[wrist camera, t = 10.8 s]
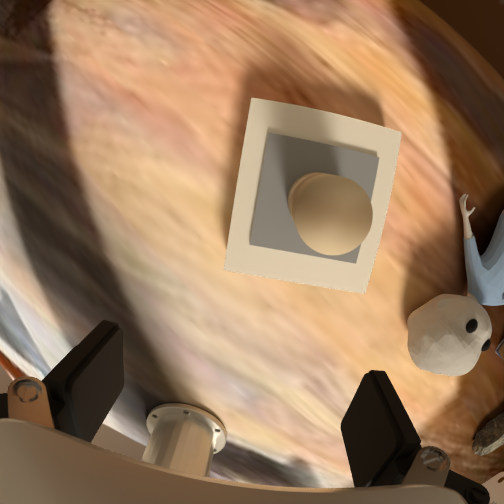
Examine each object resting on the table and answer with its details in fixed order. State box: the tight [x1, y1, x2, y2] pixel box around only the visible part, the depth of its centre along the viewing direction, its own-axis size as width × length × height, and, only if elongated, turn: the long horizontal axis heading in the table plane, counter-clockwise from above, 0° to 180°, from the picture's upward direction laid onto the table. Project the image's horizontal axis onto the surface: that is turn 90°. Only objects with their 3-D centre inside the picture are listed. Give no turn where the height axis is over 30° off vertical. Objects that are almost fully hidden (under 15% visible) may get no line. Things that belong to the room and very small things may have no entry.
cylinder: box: [287, 172, 373, 255], centre depth 22 cm, size 5×5×8 cm
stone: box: [472, 411, 504, 456], centre depth 37 cm, size 14×7×10 cm, turn 136°
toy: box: [407, 194, 504, 376], centre depth 28 cm, size 21×10×30 cm
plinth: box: [224, 98, 402, 294], centre depth 28 cm, size 16×14×4 cm
